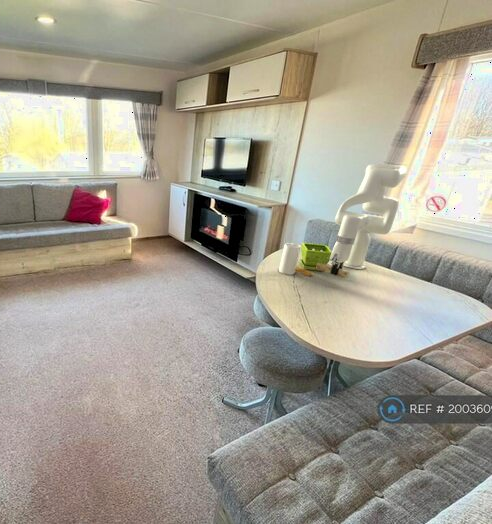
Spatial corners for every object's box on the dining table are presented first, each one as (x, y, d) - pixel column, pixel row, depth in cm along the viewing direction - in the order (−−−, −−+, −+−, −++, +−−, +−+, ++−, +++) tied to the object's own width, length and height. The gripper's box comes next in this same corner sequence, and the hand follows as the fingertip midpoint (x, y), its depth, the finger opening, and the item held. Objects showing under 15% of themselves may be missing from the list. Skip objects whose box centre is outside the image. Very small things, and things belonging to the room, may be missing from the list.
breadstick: (292, 269, 179) (293, 266, 179) (295, 269, 180) (295, 266, 180) (309, 276, 171) (310, 273, 171) (311, 275, 172) (312, 272, 172)
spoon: (348, 277, 157) (350, 271, 156) (343, 279, 155) (345, 272, 153) (319, 266, 169) (320, 260, 168) (313, 268, 167) (315, 262, 166)
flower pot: (296, 261, 192) (301, 242, 187) (321, 264, 189) (327, 245, 184) (301, 270, 179) (306, 249, 175) (327, 273, 176) (333, 252, 171)
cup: (296, 275, 172) (302, 248, 166) (280, 273, 173) (286, 246, 167) (292, 269, 179) (298, 243, 173) (277, 268, 181) (283, 242, 175)
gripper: (346, 236, 160) (336, 268, 167) (329, 239, 152) (319, 274, 159) (361, 240, 155) (350, 273, 161) (345, 244, 146) (334, 279, 153)
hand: (335, 273), depth 160 cm, fingers closed on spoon, 2 cm apart
